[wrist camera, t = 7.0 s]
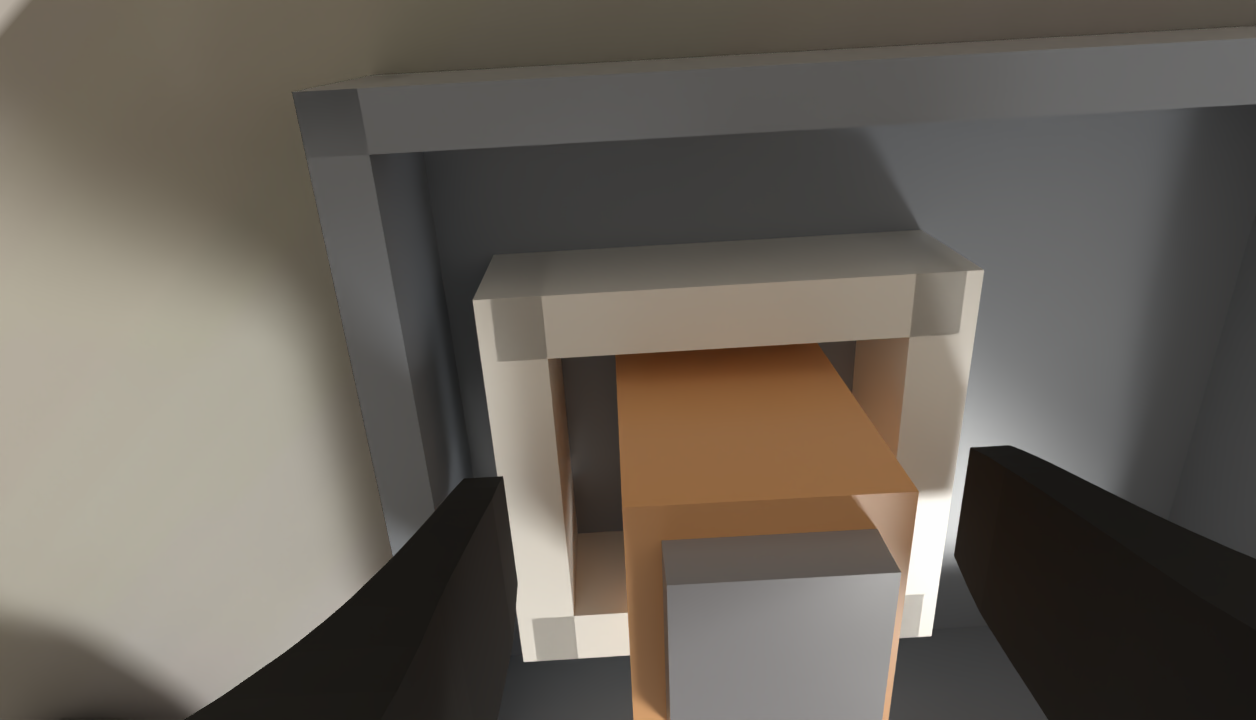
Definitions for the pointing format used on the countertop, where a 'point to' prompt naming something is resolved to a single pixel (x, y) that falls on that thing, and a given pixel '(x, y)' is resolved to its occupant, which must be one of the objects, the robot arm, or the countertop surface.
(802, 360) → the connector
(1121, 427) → the walled box
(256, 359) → the countertop surface
